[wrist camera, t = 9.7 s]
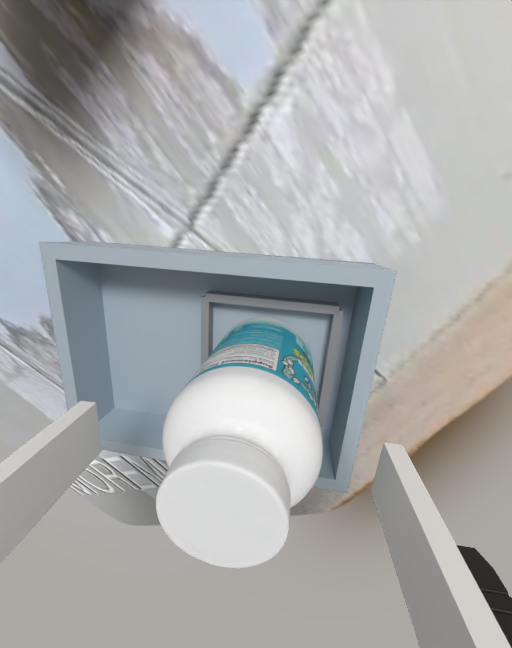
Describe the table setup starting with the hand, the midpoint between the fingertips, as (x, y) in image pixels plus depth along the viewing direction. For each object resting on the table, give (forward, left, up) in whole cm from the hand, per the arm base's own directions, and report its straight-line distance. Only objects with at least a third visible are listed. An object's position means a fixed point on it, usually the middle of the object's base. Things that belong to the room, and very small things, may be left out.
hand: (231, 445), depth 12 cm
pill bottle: (0, 0, -10) cm, 10 cm away
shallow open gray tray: (-4, 0, -11) cm, 12 cm away
